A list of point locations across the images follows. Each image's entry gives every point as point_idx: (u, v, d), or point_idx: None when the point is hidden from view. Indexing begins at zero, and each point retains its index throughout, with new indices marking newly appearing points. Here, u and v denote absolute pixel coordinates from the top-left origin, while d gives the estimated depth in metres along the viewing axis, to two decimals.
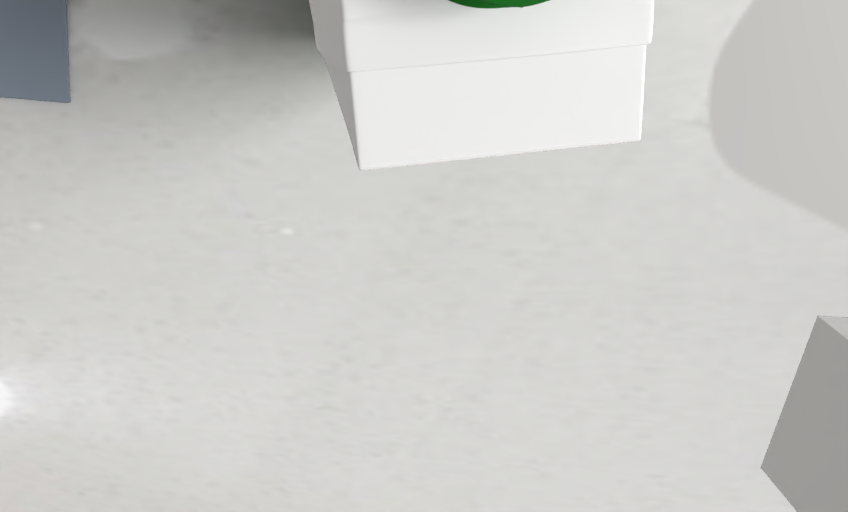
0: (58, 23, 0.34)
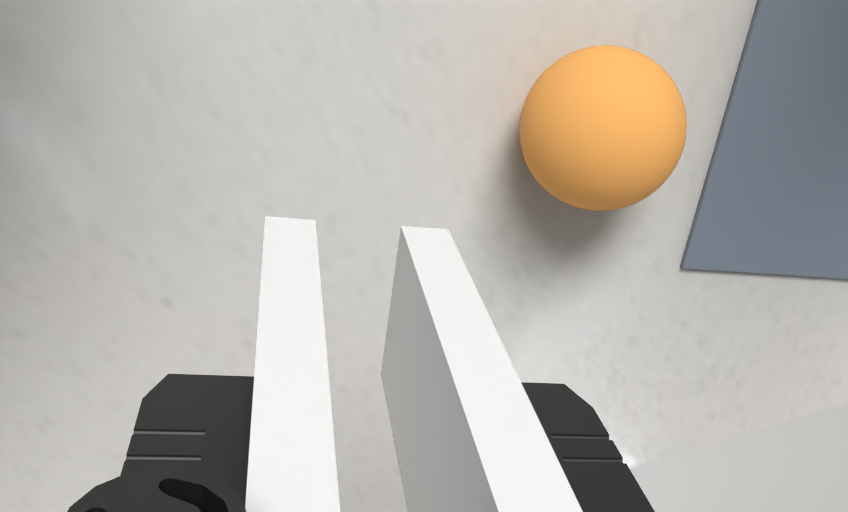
0: None
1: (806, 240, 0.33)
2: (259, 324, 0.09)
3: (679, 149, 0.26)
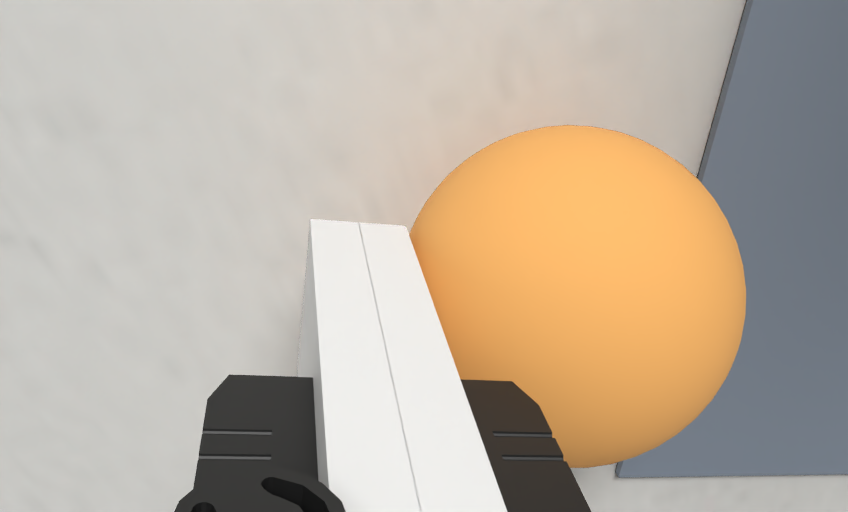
0: None
1: (835, 420, 0.19)
2: (319, 325, 0.09)
3: None
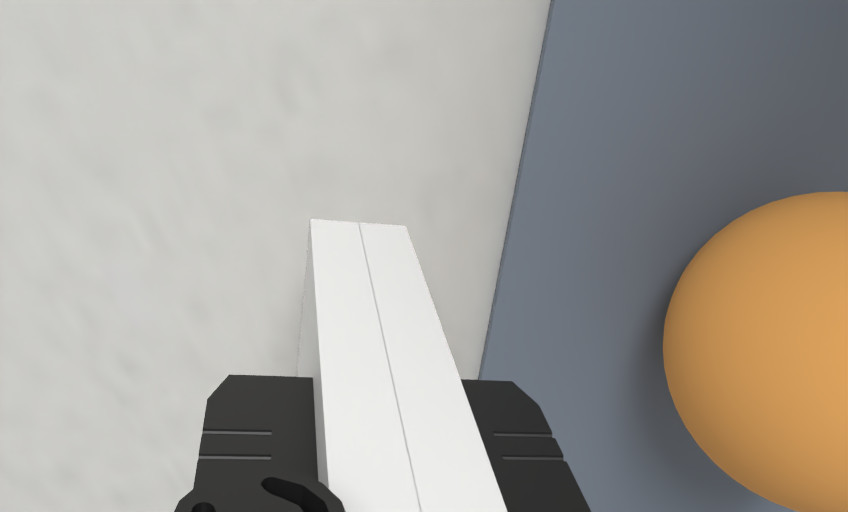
0: None
1: (691, 460, 0.18)
2: (319, 325, 0.09)
3: (688, 345, 0.13)
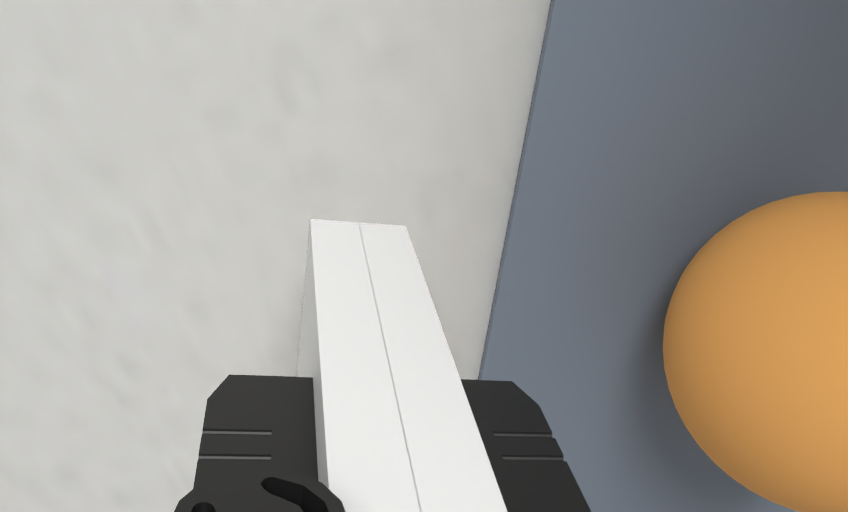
0: None
1: (691, 460, 0.18)
2: (319, 325, 0.09)
3: (688, 345, 0.13)
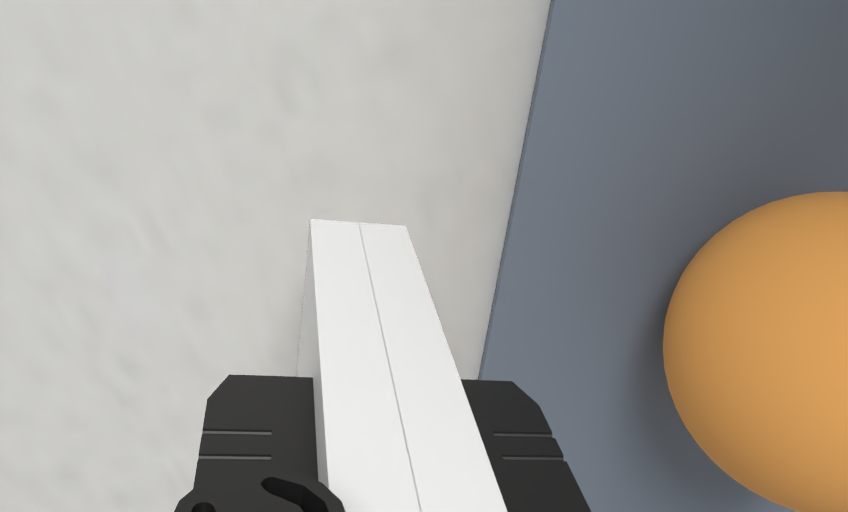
0: None
1: (691, 460, 0.18)
2: (319, 325, 0.09)
3: (688, 345, 0.13)
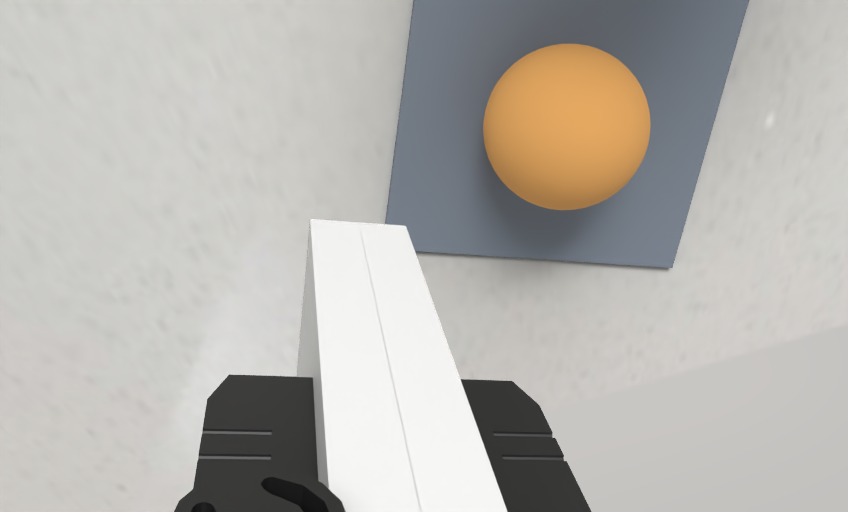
0: None
1: (520, 219, 0.31)
2: (319, 326, 0.09)
3: (487, 119, 0.26)
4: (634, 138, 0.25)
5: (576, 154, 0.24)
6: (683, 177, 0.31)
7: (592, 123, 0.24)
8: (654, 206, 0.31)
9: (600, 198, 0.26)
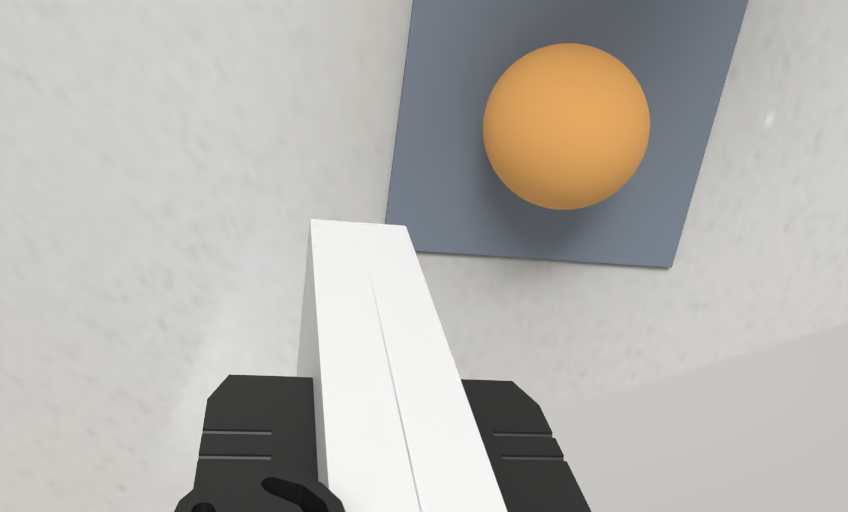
0: None
1: (519, 219, 0.31)
2: (319, 325, 0.09)
3: (487, 118, 0.26)
4: (633, 138, 0.25)
5: (576, 153, 0.24)
6: (683, 177, 0.31)
7: (592, 123, 0.24)
8: (654, 206, 0.31)
9: (600, 198, 0.26)
